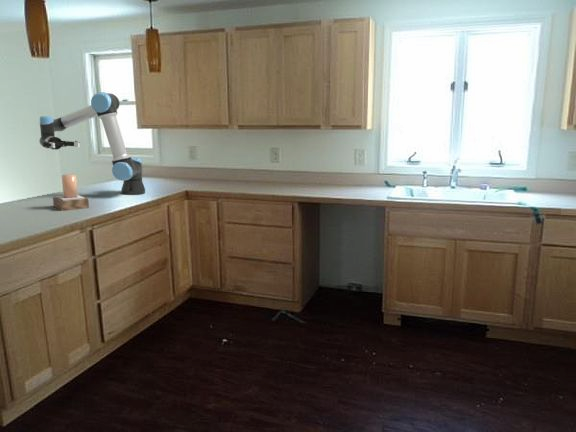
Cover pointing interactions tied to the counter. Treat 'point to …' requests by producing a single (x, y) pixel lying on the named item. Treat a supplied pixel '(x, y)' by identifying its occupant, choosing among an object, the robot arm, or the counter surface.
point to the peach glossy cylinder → (69, 186)
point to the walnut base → (70, 203)
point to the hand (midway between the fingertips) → (66, 145)
